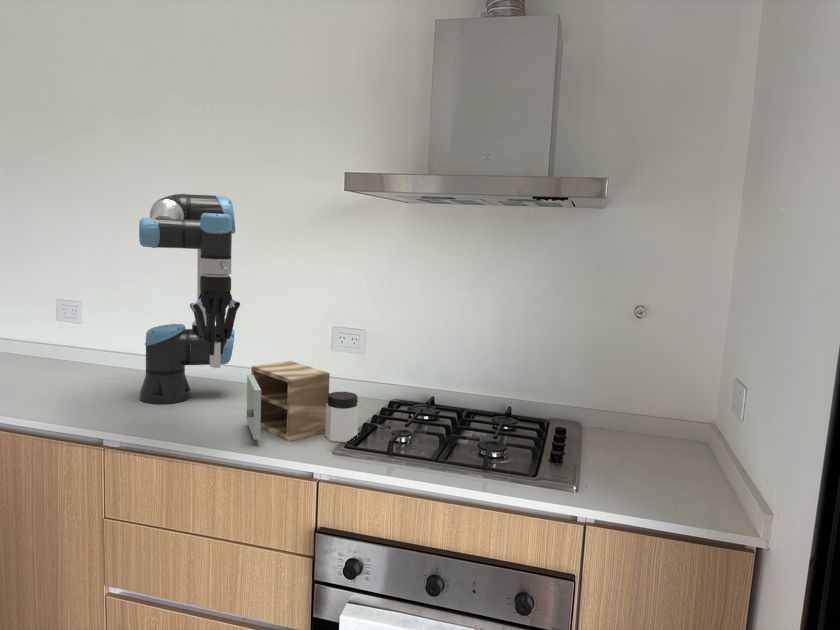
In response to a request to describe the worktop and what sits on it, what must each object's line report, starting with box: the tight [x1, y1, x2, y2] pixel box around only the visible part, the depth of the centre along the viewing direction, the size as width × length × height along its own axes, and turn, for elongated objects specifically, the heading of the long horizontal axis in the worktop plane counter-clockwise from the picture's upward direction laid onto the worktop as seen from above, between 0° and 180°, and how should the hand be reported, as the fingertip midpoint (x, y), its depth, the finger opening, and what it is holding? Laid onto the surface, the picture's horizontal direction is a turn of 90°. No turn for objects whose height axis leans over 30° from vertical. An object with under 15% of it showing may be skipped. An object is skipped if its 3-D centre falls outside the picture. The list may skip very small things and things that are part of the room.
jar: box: [324, 391, 359, 443], centre depth 183 cm, size 9×8×12 cm
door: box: [246, 374, 261, 440], centre depth 181 cm, size 18×3×13 cm, turn 21°
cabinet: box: [250, 360, 331, 442], centre depth 188 cm, size 19×13×17 cm
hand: (215, 366), depth 171 cm, fingers closed
